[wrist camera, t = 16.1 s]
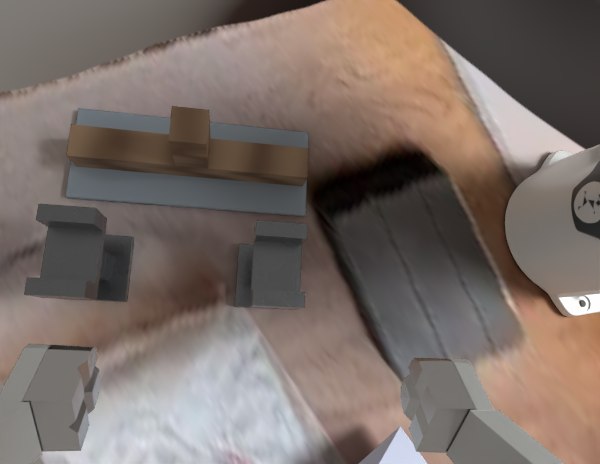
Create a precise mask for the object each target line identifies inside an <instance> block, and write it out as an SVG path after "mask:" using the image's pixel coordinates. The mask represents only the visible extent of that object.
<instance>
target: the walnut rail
mask: <svg viewBox="0 0 600 464" xmlns="http://www.w3.org/2000/svg"><path fill="white" fill-rule="evenodd" d="M308 155H309V148H301V147H291V146H281V145H271V144H261V143H251V142H241V141H231V140H222V139H212V138H211V137H210V115H209V110H203V109H194V108H185V107H176V106H172V111H171V121H170V130H169V134H162V133H152V132H142V131H132V130H122V129H113V128H103V127H93V126H83V125H73V124H71V128H70V135H69V142H68V148H67V155H66V156H67V157H68V158H69V159H70V160H71V161H72V162H73V163H74V165H75V166H76V167H87V168H99V169H110V170H121V171H133V172H144V173H155V174H167V175H178V176H189V177H201V178H212V179H223V180H235V181H246V182H258V183H269V184H280V185H292V186H303V185H304V183H305V181H306V179H307V178H308Z"/></svg>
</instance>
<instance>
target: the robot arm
mask: <svg viewBox="0 0 600 464" xmlns="http://www.w3.org/2000/svg"><path fill="white" fill-rule="evenodd" d="M505 232H506V238H507V242H508V245H509V248H510V251H511V253H512V255H513V257H514V259H515V261H516V263H517V264H518V266H519V267H520V269H521V270H522V271H523V272H524V273H525V275H526V276H527V277H528V278H529V279H530V280H532V281H533V282H534V283H535V284H537V285H538V286H539V287H541V288H542V289H543V290H544V291H546V292H547V293H548V294H549V296H550V298H551V299H552V301H553V302H554V304H555V305H556V307H557V308H558V310H559V311H560V312H561V313H562V314H563V315H565V316H567V317H574V316H580V315H585V314H591V313H597V312H600V145H597V146H595V147H592V148H589V149H587V150H584V151H582V152H579V153H576V154H572V153H569V152H566V151H556V152H554V153H551V154H550V155H549V156H548V157H547V158H546V160H545V161H544V163H543V165H542V166H541V168H540V170H538V171H537V172H536V173H535V174H533V175H531V176H530V177H528V178H527V179H525V180H524V181H523V182H522V183H521V184H520V185H519V186H518V187H517V188H516V189H515V191H514V192H513V194H512V196H511V198H510V200H509V203H508V206H507V209H506V215H505ZM579 301H580V302H581V306H580V305H579ZM97 358H98V356H97V350H96V348H94V347H81V346H64V345H42V344H28V345H27V346H26V347H25V348H24V349H23V351H22V353H21V355H20V357H19V358H18V360H17V362H16V364H15V366H14V368H13V370H12V372H11V373H10V375H9V377H8V379H7V381H6V383H5V385H4V387H3V388H2V390H1V392H0V464H32V463H33V462H35V461H36V459H37V458H38V457H39V456H40V455H41V454H42V451H81V449H82V446H83V442H84V439H85V436H86V433H87V430H88V427H89V420H88V414H89V413H90V412H91V411H92V410H93V409H95V405H96V402H97V399H98V393H99V388H100V371H99V369H98V368H97V367H95V364H96V361H97ZM408 368H409V371H410V374H409V375H408V376H407V377H405V378H404V380H403V383H402V386H401V396H400V397H401V404H402V408H403V412H404V414H405V415H406V416H407V417H408V418H409V419H410V420H411V421H412V422H411V424H410V427H409V431H410V434H411V438H412V441H413V444H414V447H415V450H416V452H439V453H447V454H446V455H447V456H448V457H449V458H450V459H451V460H452V462H453V463H454V464H564V463H563V462H562V461H561V460H559V459H558V458H557V457H556V456H555V455H553V454H552V453H551V452H550V451H549V450H547V449H546V448H545V447H544V446H542V445H541V444H540V443H539V442H538V441H536V440H535V439H534V438H533V437H531V436H530V435H529V434H528V433H527V432H525V431H524V430H523V429H522V428H521V427H519V426H518V425H517V424H516V423H514V422H513V421H512V420H511V419H510V418H508V417H507V416H506V415H505V414H503V413H502V412H501V411H500V410H494V408H493V406H492V404H491V402H490V400H489V398H488V396H487V394H486V392H485V390H484V388H483V386H482V384H481V382H480V380H479V378H478V376H477V374H476V372H475V370H474V368H473V366H472V364H471V362H469V361H468V360H466V359H438V358H414V359H413V360H412V361H411V362H410V365H409V367H408Z"/></svg>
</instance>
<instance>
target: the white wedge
mask: <svg viewBox="0 0 600 464" xmlns="http://www.w3.org/2000/svg"><path fill="white" fill-rule="evenodd" d="M359 464H427V463H426V461H425V460H424V458H423V457H422V456H421V454H420V453H419V452H416V450H415V447H414V444H413V443H412V442H411V440H410V439H409V437H408V436H407V435H406V433H405V432H404V431H403V429H402V428H401V426H400V427H399V428H398V429H397V430H396V431H395V432H393V433H392V434H391V435H390V436H389V437H388V438H387V439H386V440H384V441H383V442H382V443H381V444H380V445H379V446H378V447H377V448H376V449H374V450H373V451H372V452H371V453H370V454H369V455H368V456H367V457H365V458H364V459H363V460H362V461H361V462H360V463H359Z"/></svg>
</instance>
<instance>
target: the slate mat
mask: <svg viewBox="0 0 600 464" xmlns="http://www.w3.org/2000/svg"><path fill="white" fill-rule="evenodd" d="M170 121H171V118H166V117H157V116H147V115H138V114H128V113H119V112H109V111H100V110H90V109H81V108H78V115H77V122H76V125H83V126H93V127H103V128H113V129H122V130H132V131H142V132H152V133H162V134H169V130H170ZM308 134H309V133H308V132H299V131H289V130H280V129H270V128H261V127H251V126H242V125H232V124H223V123H213V122H210V137H211V138H212V139H222V140H231V141H241V142H251V143H261V144H271V145H281V146H291V147H301V148H308ZM306 189H307V179H306V181H305V183H304V185H303V186H292V185H280V184H269V183H258V182H246V181H235V180H223V179H212V178H201V177H189V176H178V175H167V174H155V173H144V172H133V171H121V170H110V169H99V168H87V167H76V166H75V165H74V163H73V162H72V161H71V163H70V170H69V177H68V183H67V190H66V197H67V198H72V199H85V200H98V201H111V202H124V203H137V204H150V205H163V206H176V207H189V208H202V209H214V210H227V211H240V212H253V213H266V214H279V215H292V216H305V215H306Z"/></svg>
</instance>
